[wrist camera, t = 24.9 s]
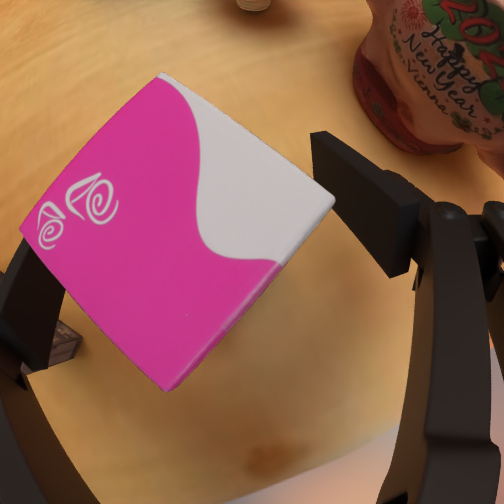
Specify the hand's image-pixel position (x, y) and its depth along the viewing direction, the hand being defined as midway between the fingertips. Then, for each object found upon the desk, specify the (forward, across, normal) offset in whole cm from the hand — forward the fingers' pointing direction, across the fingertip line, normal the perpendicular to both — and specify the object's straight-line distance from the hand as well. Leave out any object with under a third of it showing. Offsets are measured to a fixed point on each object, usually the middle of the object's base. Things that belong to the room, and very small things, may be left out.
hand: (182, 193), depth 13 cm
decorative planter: (+6, +18, -1) cm, 19 cm away
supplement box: (+2, 0, -5) cm, 6 cm away
